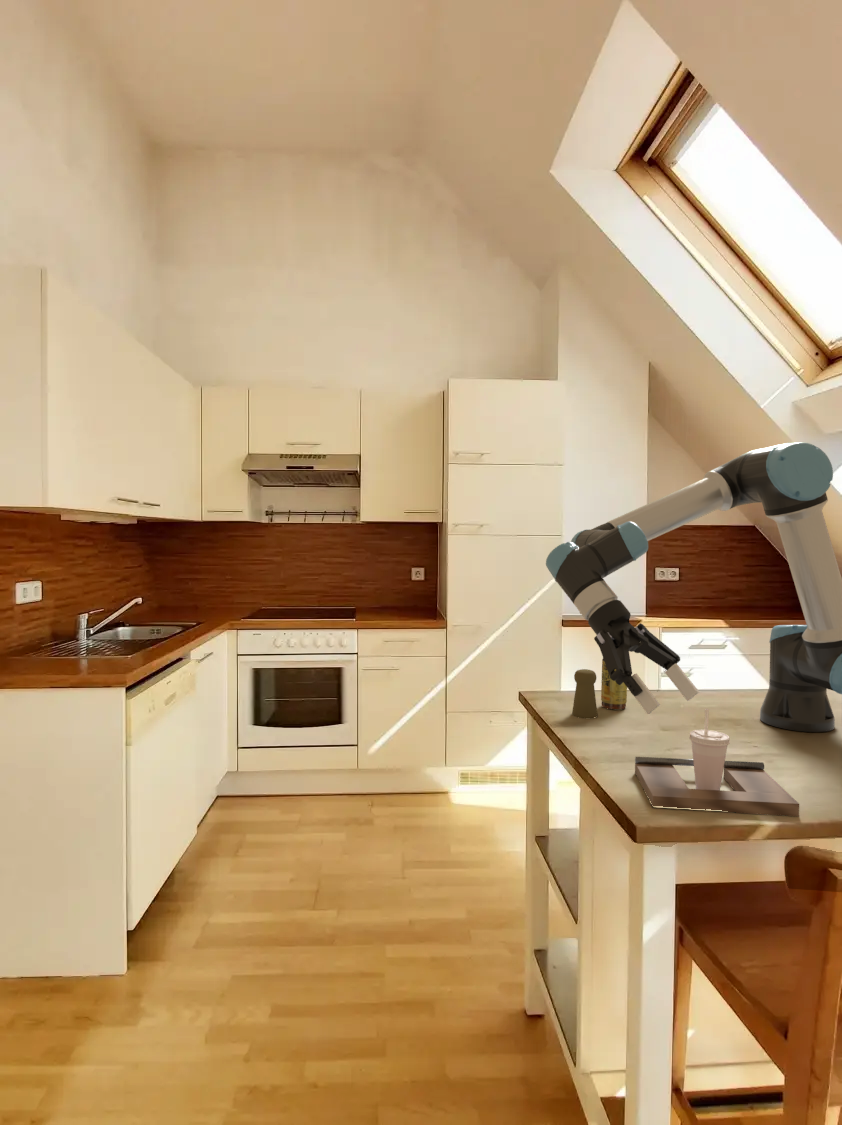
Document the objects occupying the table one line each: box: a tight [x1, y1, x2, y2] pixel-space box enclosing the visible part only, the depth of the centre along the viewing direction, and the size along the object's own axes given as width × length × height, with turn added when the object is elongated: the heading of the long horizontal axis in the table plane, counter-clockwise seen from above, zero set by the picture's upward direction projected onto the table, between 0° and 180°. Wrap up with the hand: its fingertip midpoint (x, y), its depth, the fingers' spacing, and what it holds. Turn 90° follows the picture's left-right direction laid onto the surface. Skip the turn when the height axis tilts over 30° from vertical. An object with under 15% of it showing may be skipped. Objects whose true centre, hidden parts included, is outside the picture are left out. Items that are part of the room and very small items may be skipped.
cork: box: [571, 668, 598, 719], centre depth 164 cm, size 6×6×11 cm
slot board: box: [634, 762, 800, 817], centre depth 115 cm, size 22×16×2 cm
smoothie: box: [689, 708, 731, 790], centre depth 116 cm, size 6×6×14 cm
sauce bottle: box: [600, 658, 628, 710], centre depth 170 cm, size 7×6×20 cm
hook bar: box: [634, 756, 765, 771], centre depth 122 cm, size 22×1×1 cm, turn 82°
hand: (674, 703), depth 120 cm, fingers open, 13 cm apart
